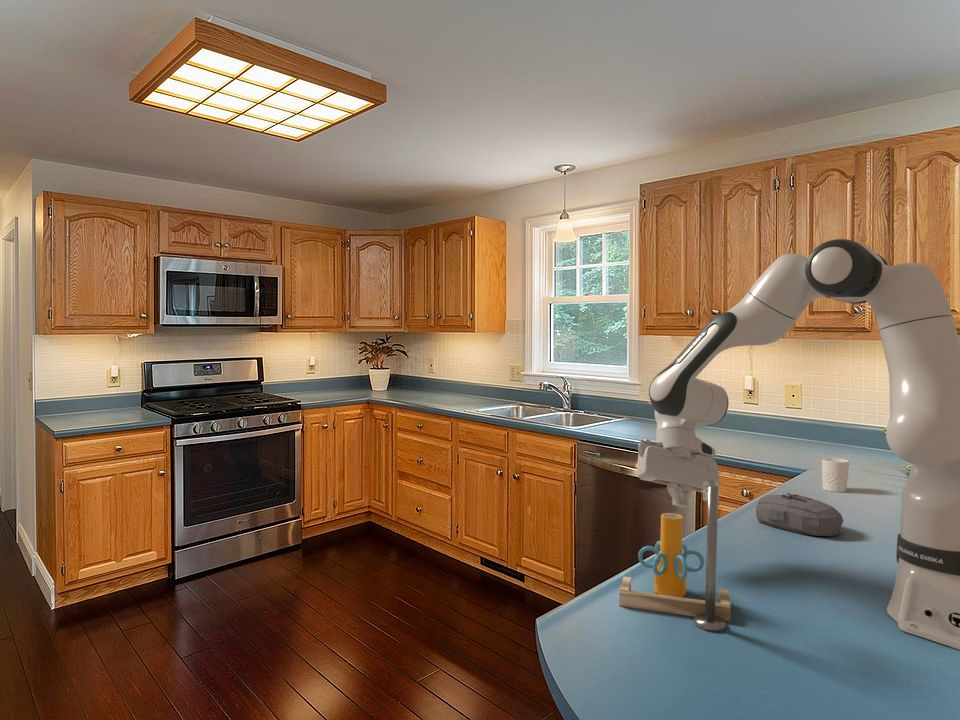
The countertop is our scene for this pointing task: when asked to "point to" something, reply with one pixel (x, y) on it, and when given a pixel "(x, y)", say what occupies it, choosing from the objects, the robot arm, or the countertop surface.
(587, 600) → the countertop surface
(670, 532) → the vase
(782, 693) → the countertop surface
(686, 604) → the yoke
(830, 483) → the white cup
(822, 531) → the grey rounded bag
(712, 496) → the round-based metal post
